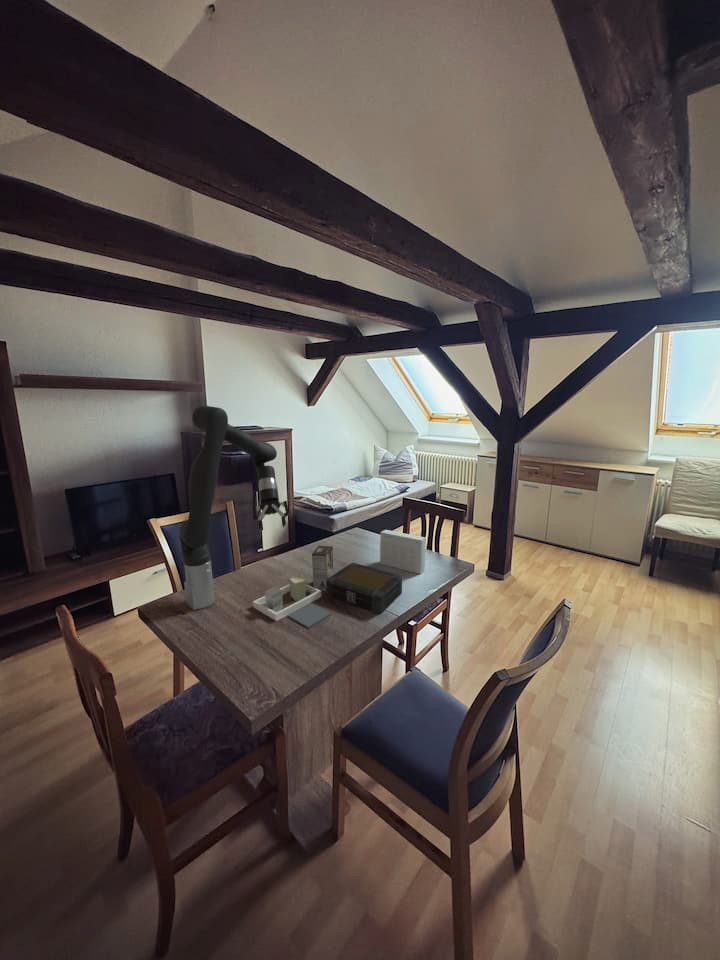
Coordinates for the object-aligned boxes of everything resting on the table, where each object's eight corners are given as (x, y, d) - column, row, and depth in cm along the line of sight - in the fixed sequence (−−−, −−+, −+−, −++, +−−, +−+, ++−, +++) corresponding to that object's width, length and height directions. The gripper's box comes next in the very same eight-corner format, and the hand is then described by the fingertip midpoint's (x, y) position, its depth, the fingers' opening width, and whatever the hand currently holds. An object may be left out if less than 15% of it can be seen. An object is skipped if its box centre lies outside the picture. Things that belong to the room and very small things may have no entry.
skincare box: (425, 570, 173) (426, 537, 170) (420, 574, 169) (421, 541, 165) (384, 559, 184) (385, 528, 181) (379, 563, 180) (379, 532, 177)
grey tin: (273, 613, 139) (272, 595, 137) (265, 609, 142) (264, 591, 140) (283, 608, 142) (282, 590, 141) (275, 604, 145) (274, 586, 144)
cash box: (323, 598, 150) (323, 580, 148) (352, 577, 167) (352, 561, 165) (378, 617, 137) (379, 597, 135) (403, 592, 154) (403, 575, 152)
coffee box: (319, 579, 165) (318, 544, 161) (333, 581, 163) (333, 546, 160) (312, 590, 156) (311, 553, 152) (327, 591, 155) (327, 554, 151)
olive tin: (295, 601, 147) (294, 583, 146) (290, 596, 151) (289, 578, 150) (306, 597, 150) (305, 579, 148) (301, 592, 154) (300, 575, 152)
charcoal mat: (308, 628, 130) (308, 626, 130) (288, 616, 137) (288, 615, 137) (331, 614, 138) (331, 613, 138) (310, 604, 145) (310, 602, 145)
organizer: (276, 621, 134) (275, 614, 134) (253, 607, 143) (253, 601, 143) (321, 596, 151) (321, 590, 150) (298, 585, 159) (298, 580, 159)
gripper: (249, 490, 153) (253, 529, 148) (284, 485, 155) (290, 523, 150) (252, 495, 160) (256, 533, 155) (286, 490, 163) (291, 527, 158)
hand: (272, 528), depth 153 cm, fingers open, 8 cm apart
